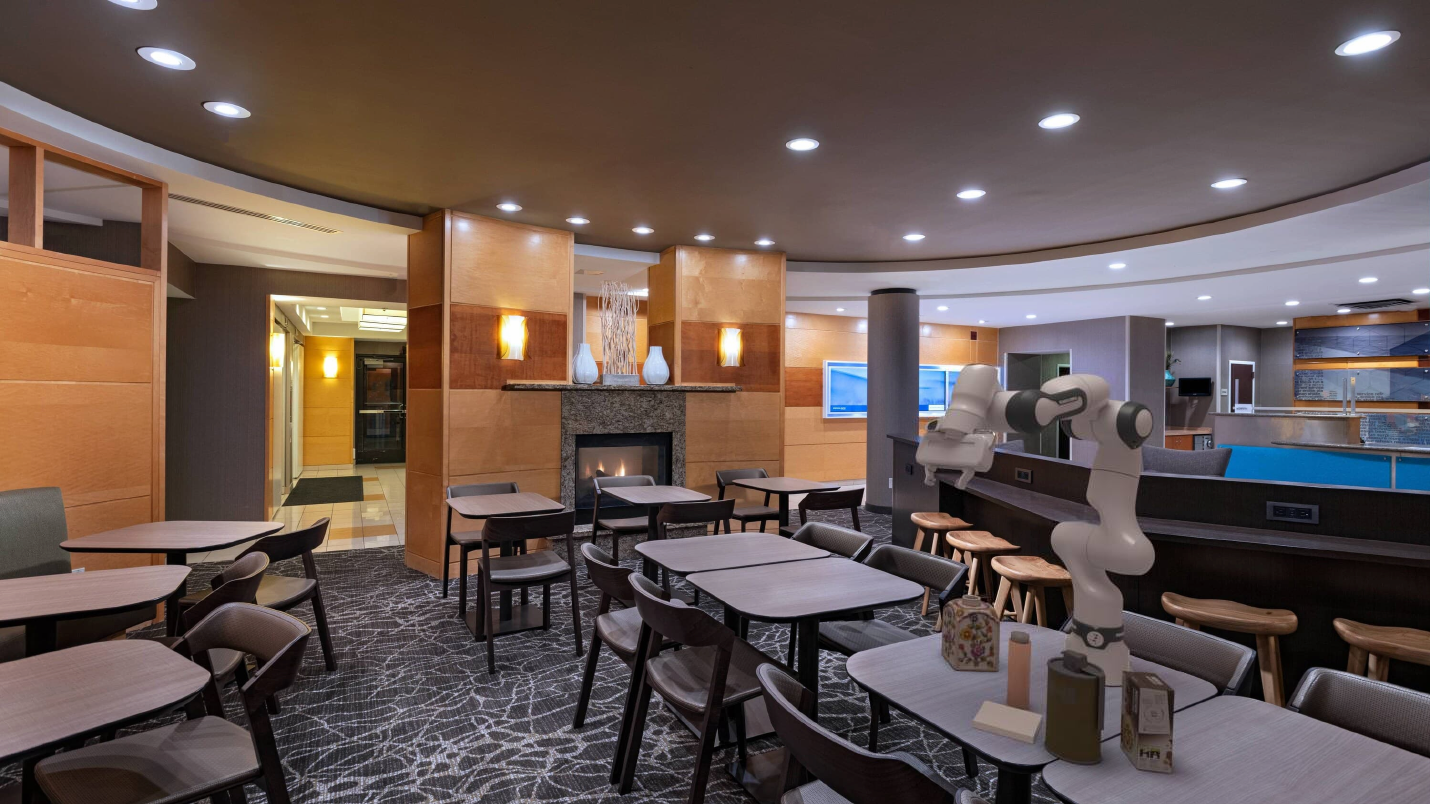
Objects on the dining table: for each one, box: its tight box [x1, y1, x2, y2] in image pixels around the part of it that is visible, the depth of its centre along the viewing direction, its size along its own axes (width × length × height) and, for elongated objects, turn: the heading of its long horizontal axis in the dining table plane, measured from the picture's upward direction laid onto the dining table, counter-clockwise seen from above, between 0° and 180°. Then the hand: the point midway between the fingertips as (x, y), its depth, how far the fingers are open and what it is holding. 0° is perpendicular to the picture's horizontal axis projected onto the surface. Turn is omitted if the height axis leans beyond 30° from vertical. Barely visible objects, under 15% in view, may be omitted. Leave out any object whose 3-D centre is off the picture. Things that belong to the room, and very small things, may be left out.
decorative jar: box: [941, 594, 1001, 673], centre depth 184 cm, size 12×12×18 cm
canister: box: [1043, 650, 1106, 766], centre depth 139 cm, size 11×10×20 cm
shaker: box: [1006, 630, 1032, 710], centre depth 160 cm, size 5×5×17 cm
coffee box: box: [1119, 671, 1176, 774], centre depth 137 cm, size 9×6×16 cm
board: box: [972, 700, 1043, 745], centre depth 150 cm, size 12×12×2 cm
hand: (943, 486), depth 153 cm, fingers open, 8 cm apart
